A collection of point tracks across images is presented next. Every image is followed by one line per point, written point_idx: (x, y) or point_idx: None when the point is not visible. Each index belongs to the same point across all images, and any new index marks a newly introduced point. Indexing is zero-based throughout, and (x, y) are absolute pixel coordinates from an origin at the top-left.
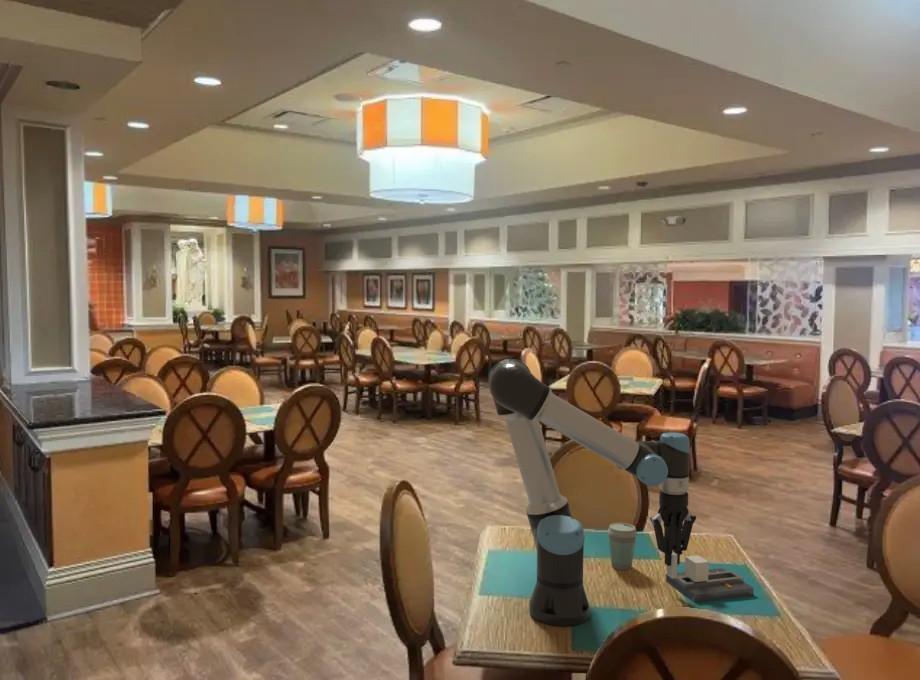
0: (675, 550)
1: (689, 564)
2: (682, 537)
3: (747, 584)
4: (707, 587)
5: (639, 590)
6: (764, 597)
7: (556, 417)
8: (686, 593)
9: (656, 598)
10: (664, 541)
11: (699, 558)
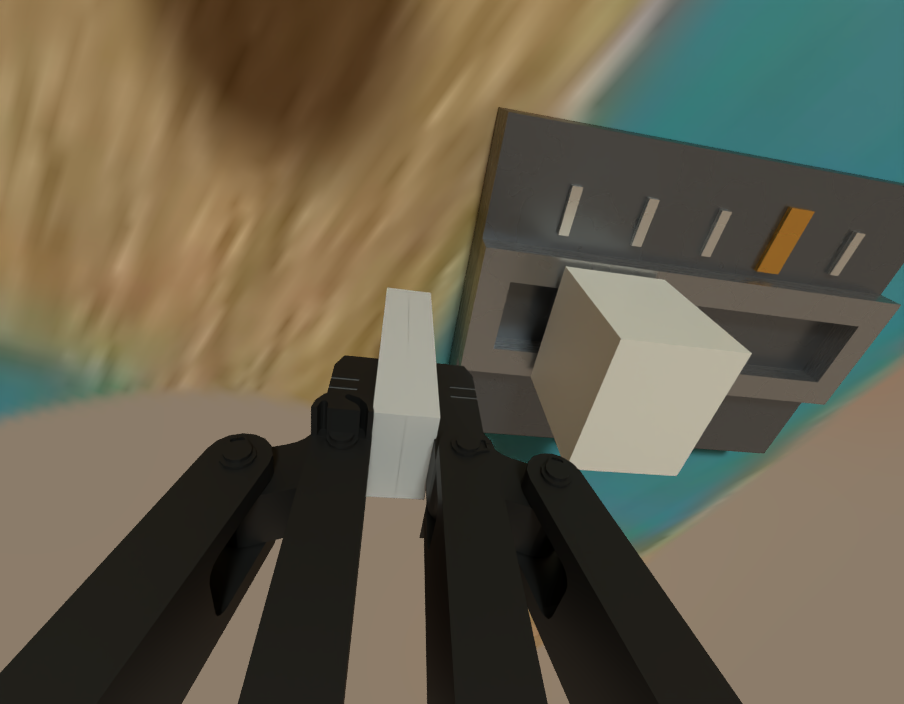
0: (428, 498)
1: (579, 371)
2: (582, 634)
3: (783, 421)
4: None
5: (210, 166)
6: (752, 454)
7: None
8: (453, 351)
9: (269, 307)
10: (192, 673)
11: (686, 409)
